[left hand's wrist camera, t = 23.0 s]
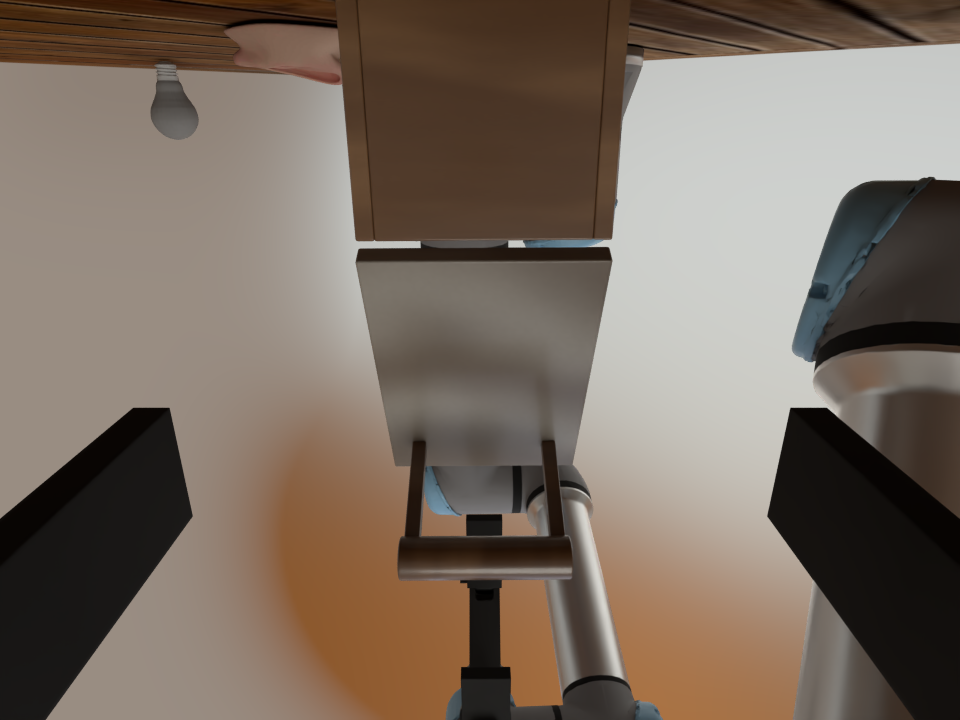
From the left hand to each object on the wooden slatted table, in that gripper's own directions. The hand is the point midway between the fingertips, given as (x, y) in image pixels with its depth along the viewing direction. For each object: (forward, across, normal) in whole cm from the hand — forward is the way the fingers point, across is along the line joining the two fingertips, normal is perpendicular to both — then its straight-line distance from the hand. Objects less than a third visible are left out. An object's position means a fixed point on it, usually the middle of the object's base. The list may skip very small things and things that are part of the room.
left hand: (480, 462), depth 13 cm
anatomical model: (+49, +16, -14) cm, 54 cm away
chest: (+18, 0, -14) cm, 23 cm away
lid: (+15, 0, +4) cm, 16 cm away
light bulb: (+80, +43, -14) cm, 92 cm away
